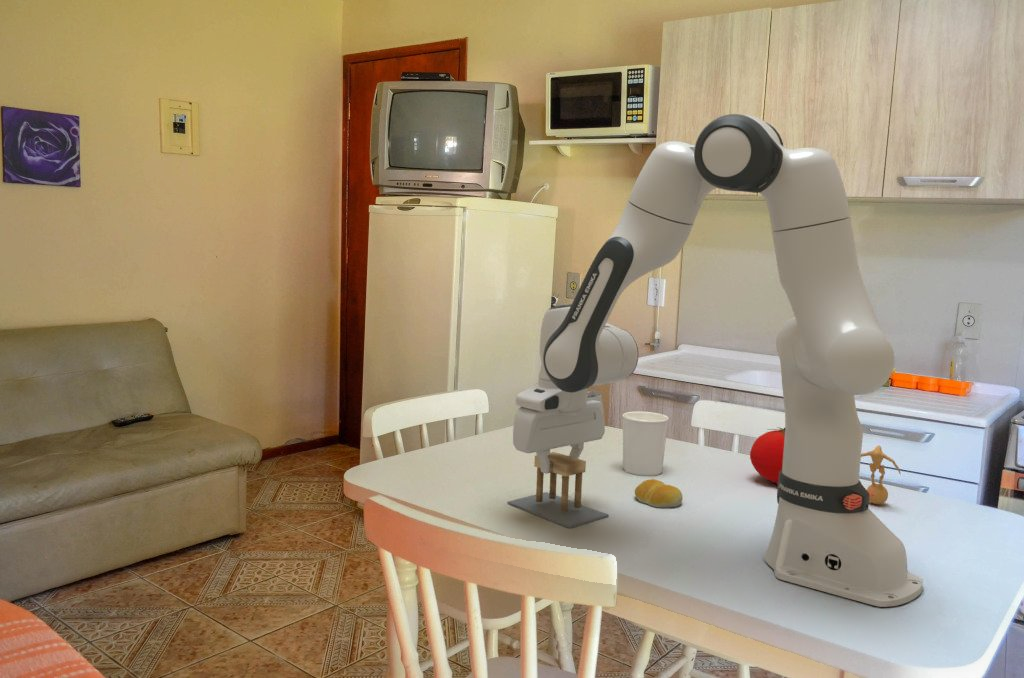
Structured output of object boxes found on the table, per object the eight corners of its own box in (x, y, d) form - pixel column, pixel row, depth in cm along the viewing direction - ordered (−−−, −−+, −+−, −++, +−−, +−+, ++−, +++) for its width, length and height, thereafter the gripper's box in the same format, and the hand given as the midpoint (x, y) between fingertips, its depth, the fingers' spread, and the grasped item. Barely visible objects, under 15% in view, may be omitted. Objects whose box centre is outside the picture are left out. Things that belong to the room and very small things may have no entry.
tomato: (816, 495, 164) (821, 439, 163) (745, 485, 169) (749, 431, 168) (818, 479, 176) (822, 427, 174) (751, 470, 181) (755, 419, 179)
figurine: (901, 506, 159) (907, 446, 157) (893, 513, 154) (899, 451, 153) (856, 497, 164) (862, 438, 163) (847, 503, 159) (853, 443, 158)
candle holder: (672, 469, 179) (675, 415, 178) (654, 479, 171) (658, 423, 169) (630, 461, 184) (633, 409, 183) (611, 471, 176) (614, 416, 174)
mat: (608, 516, 146) (608, 514, 146) (569, 528, 140) (569, 526, 140) (546, 494, 158) (546, 492, 158) (507, 503, 151) (507, 501, 151)
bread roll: (664, 512, 151) (666, 491, 150) (627, 499, 157) (628, 479, 157) (692, 504, 156) (693, 483, 156) (654, 492, 163) (656, 472, 162)
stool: (552, 496, 153) (554, 451, 152) (583, 507, 147) (585, 461, 146) (533, 501, 150) (534, 455, 149) (564, 512, 144) (566, 465, 143)
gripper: (589, 386, 156) (586, 457, 157) (508, 396, 142) (505, 474, 144) (614, 391, 151) (610, 464, 153) (533, 403, 137) (530, 483, 139)
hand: (559, 469), depth 148 cm, fingers closed on stool, 5 cm apart
